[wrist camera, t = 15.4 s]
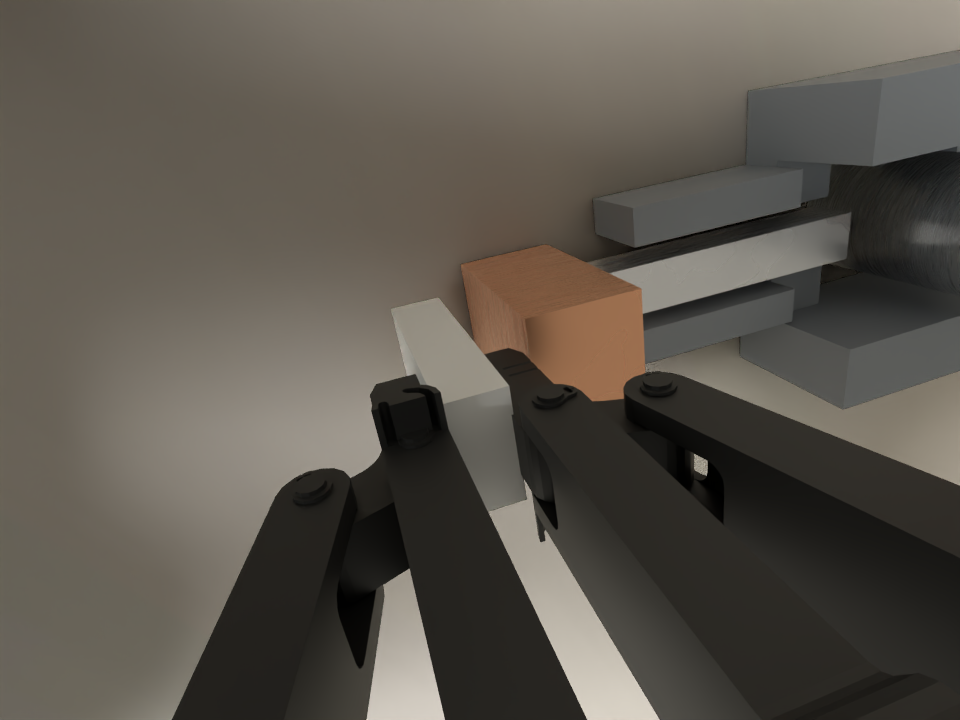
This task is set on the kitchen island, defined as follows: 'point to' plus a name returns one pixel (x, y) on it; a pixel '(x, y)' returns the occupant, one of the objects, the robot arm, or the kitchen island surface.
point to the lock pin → (630, 292)
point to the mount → (784, 186)
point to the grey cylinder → (902, 218)
